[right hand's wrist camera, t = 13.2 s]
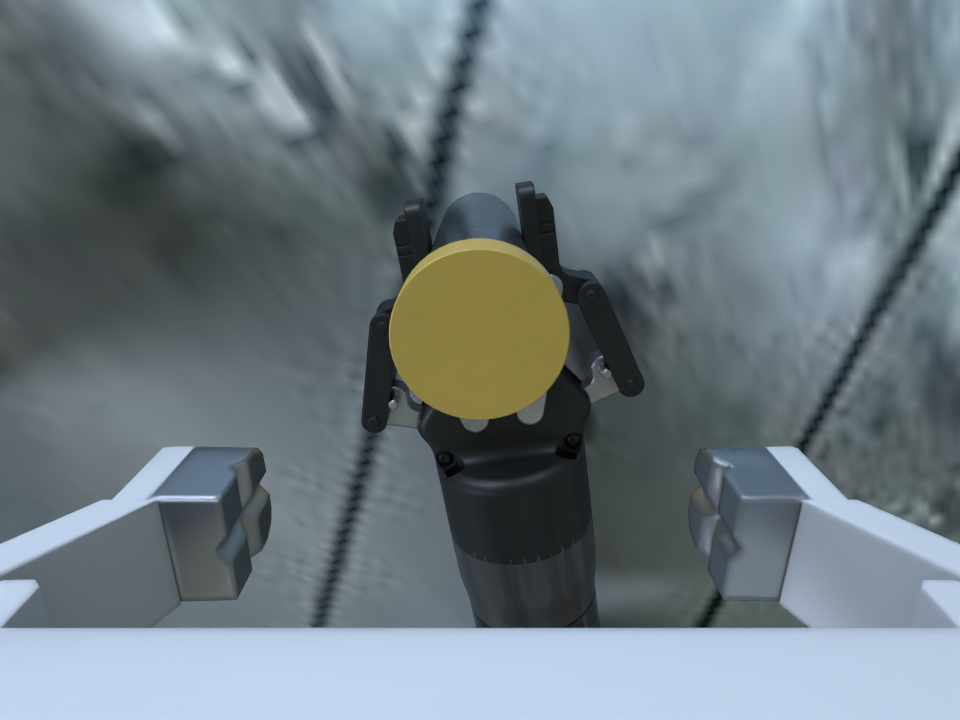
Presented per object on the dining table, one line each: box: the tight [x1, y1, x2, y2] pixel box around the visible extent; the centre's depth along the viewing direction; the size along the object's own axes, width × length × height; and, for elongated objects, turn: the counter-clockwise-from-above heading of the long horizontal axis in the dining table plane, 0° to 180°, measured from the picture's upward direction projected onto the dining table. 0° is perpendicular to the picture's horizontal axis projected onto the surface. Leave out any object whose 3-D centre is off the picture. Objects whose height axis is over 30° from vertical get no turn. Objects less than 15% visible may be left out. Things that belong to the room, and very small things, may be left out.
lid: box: [389, 238, 570, 420], centre depth 18 cm, size 5×5×2 cm
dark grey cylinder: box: [430, 193, 528, 253], centre depth 25 cm, size 4×4×17 cm
